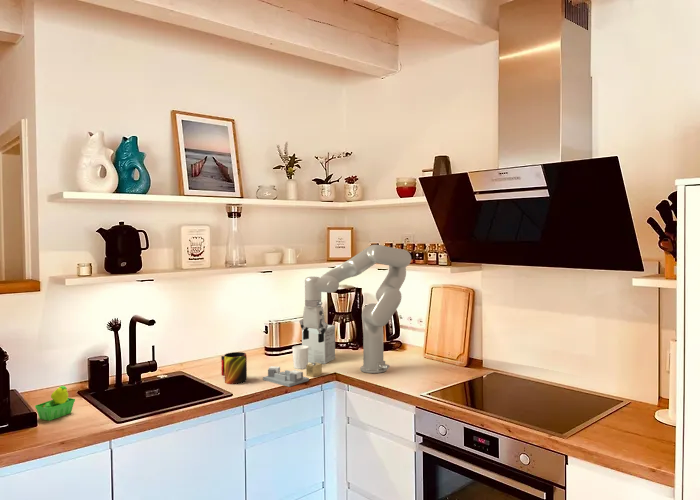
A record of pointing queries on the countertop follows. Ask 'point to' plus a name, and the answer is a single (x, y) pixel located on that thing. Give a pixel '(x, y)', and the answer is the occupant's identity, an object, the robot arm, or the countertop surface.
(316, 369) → the coupler
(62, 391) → the fruit basket
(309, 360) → the supplement box
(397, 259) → the robot arm
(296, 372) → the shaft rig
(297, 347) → the white cup
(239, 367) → the mug
